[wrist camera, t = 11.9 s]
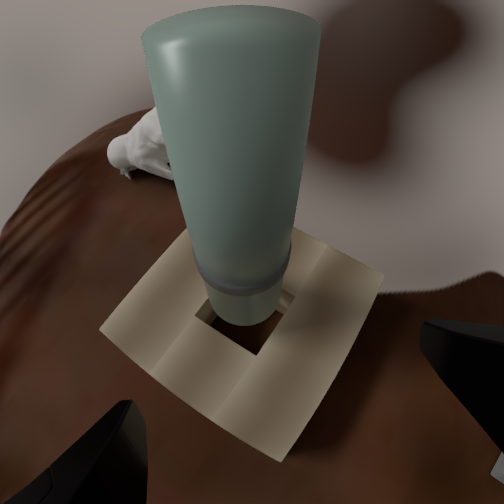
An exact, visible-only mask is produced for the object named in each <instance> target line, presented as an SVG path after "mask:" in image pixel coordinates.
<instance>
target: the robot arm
mask: <svg viewBox="0 0 504 504" xmlns="http://www.w3.org/2000/svg"><path fill="white" fill-rule="evenodd" d="M419 347H420V350H421V352H422V353H423V354H424V356H425V357H426V359H427V360H428V361H429V363H430V364H431V366H432V367H433V368H434V370H435V371H436V373H437V374H438V375H439V377H440V378H441V380H442V381H443V382H444V383H445V385H446V386H447V387H448V388H449V389H450V390H451V391H452V393H453V394H454V395H455V396H456V397H457V398H458V400H459V401H460V402H461V403H462V404H463V405H464V407H465V408H466V409H467V410H468V411H469V412H470V414H471V415H472V416H473V417H474V418H475V420H476V421H477V422H478V423H479V424H480V426H481V427H482V428H483V429H484V430H485V432H486V433H487V434H488V435H489V437H490V438H491V439H492V440H493V441H494V443H495V444H496V445H497V446H498V448H499V449H500V450H501V451H502V453H503V454H504V326H495V325H485V324H476V323H467V322H459V321H450V320H442V319H434V318H431V319H429V320H426V321H424V322H422V324H421V326H420V338H419ZM147 478H148V461H147V444H146V425H145V421H144V419H143V417H142V415H141V413H140V411H139V409H138V407H137V405H136V403H135V401H134V400H132V399H129V400H121V401H119V402H118V403H117V404H116V405H115V406H114V407H112V408H111V409H110V410H109V411H108V412H107V413H106V414H105V415H104V416H103V417H102V418H101V419H100V420H99V421H98V422H97V423H95V424H94V425H93V426H92V427H91V428H90V429H89V430H88V431H87V432H86V433H85V434H84V435H83V436H81V437H80V438H79V439H78V440H77V441H76V442H75V443H74V444H73V445H72V446H71V447H70V448H69V449H67V450H66V451H65V452H64V453H63V454H62V455H61V456H60V457H59V458H58V459H57V460H55V461H54V462H53V463H52V464H51V465H50V468H49V467H48V468H47V469H46V470H44V471H43V472H42V473H41V474H40V475H39V476H38V477H37V478H35V479H34V480H33V481H32V482H31V483H30V484H28V485H27V486H26V487H24V488H23V489H22V490H20V491H19V492H18V493H16V494H15V495H14V496H12V497H11V498H9V499H8V500H7V501H5V502H4V503H2V504H146V500H147Z"/></svg>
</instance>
